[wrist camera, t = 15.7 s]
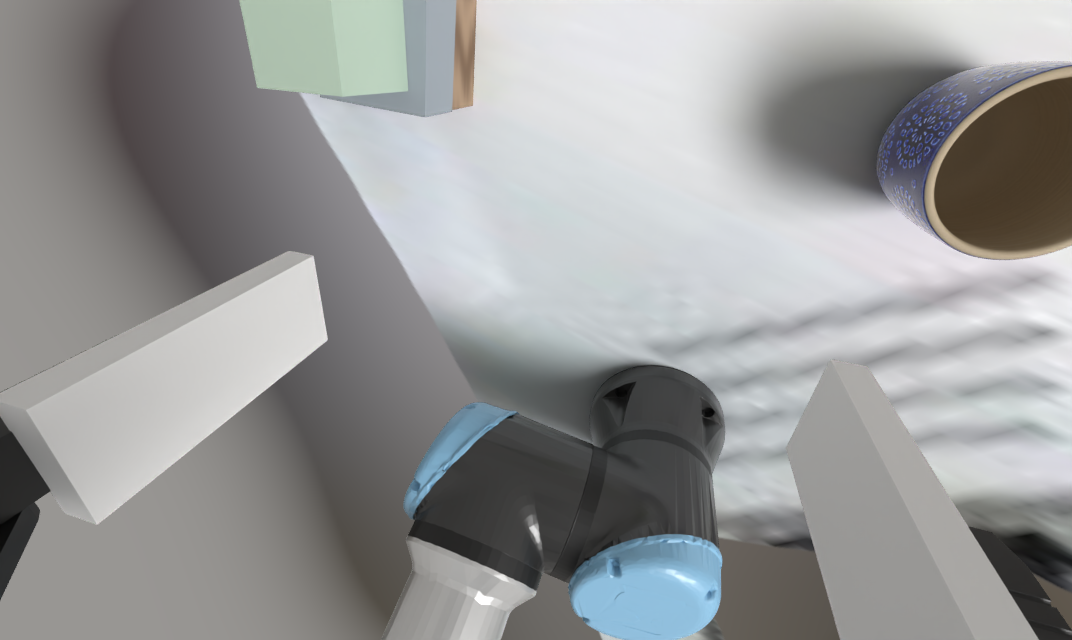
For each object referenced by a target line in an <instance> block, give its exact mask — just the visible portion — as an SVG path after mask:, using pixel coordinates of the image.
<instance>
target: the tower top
mask: <svg viewBox="0 0 1072 640" xmlns="http://www.w3.org/2000/svg"><path fill="white" fill-rule="evenodd" d="M403 12H404V28H405V45H406V61H407V78H408V91H405V92H393V93H381V94H369V95H357V96H345V97H340V96H331V95H321V94H320V97H322V98H327V99H332V100H337V101H342V102H348V103H353V104H358V105H363V106H369V107H374V108H379V109H384V110H389V111H395V112H400V113H405V114H410V115H416V116H421V117H429V116H434V115H438V114H443V113H447V112H452V103H453V77H454V50H455V24H456V0H403Z"/></svg>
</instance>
